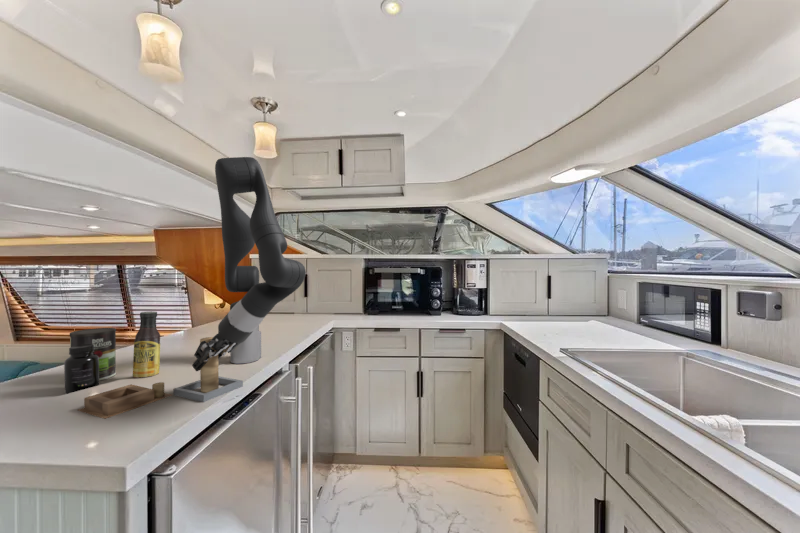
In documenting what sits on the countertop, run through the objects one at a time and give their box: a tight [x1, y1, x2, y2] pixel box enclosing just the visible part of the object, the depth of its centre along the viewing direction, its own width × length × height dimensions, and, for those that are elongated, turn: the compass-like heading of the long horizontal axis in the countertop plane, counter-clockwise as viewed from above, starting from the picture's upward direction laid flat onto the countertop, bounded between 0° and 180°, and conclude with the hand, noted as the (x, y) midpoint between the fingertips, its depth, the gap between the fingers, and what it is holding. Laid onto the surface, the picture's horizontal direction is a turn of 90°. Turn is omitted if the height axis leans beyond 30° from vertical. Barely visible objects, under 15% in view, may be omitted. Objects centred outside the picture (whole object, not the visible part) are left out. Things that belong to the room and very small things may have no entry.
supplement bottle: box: [63, 344, 100, 395], centre depth 90 cm, size 7×7×12 cm
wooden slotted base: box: [77, 381, 173, 420], centre depth 79 cm, size 14×11×4 cm
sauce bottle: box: [132, 310, 161, 379], centre depth 99 cm, size 7×6×20 cm
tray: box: [172, 375, 244, 403], centre depth 86 cm, size 11×11×3 cm
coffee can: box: [69, 327, 117, 382], centre depth 101 cm, size 10×10×14 cm
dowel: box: [199, 336, 220, 393], centre depth 86 cm, size 4×4×13 cm
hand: (202, 365), depth 86 cm, fingers closed on dowel, 4 cm apart
